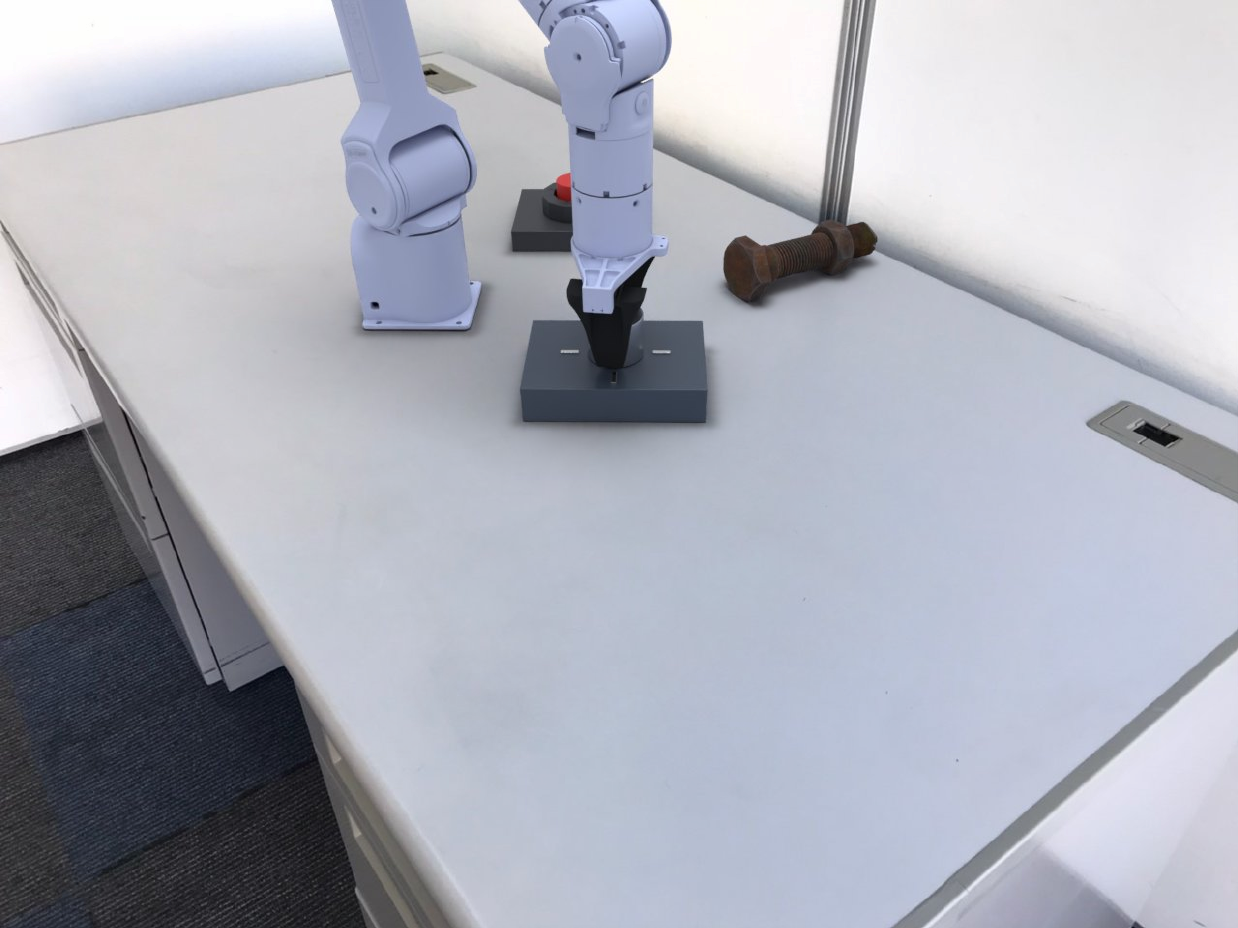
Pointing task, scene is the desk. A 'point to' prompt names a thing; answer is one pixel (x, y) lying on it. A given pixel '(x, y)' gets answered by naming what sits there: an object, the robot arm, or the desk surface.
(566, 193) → the button
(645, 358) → the valve panel
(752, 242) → the bolt
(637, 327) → the rotary knob
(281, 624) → the desk surface
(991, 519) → the desk surface
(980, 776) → the desk surface
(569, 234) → the button base
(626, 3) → the robot arm
